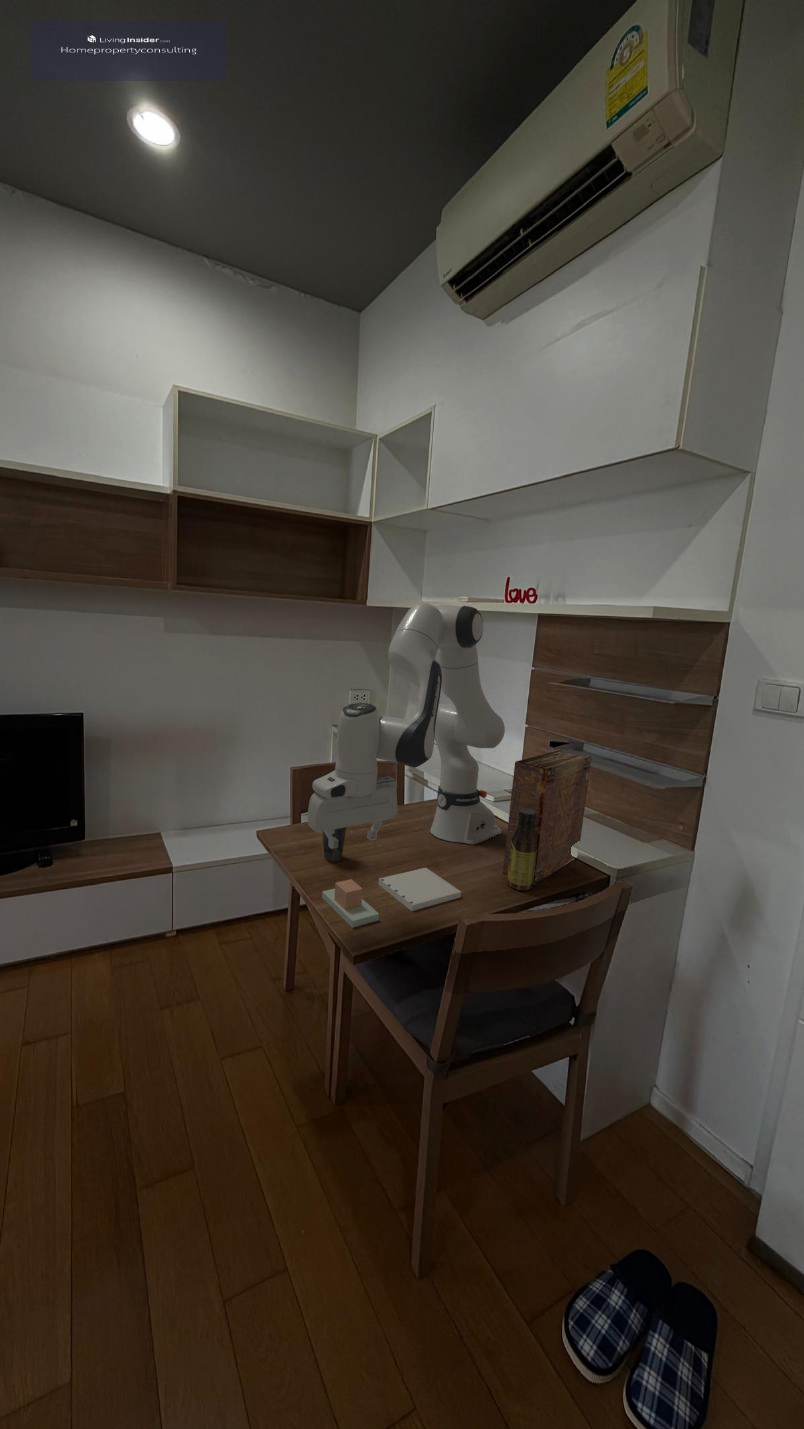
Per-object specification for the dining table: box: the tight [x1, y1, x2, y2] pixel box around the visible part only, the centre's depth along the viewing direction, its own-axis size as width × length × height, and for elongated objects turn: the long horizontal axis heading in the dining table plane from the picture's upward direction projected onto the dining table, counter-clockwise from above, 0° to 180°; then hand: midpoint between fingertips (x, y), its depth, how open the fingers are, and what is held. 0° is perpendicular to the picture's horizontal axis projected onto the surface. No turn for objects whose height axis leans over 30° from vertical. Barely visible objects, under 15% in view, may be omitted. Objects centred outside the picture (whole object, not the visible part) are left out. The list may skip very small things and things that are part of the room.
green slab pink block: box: [321, 878, 380, 929], centre depth 125 cm, size 6×14×6 cm, turn 34°
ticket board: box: [378, 867, 462, 912], centre depth 136 cm, size 14×14×2 cm
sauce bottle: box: [507, 808, 537, 892], centre depth 140 cm, size 7×6×20 cm
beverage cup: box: [322, 827, 347, 862], centre depth 149 cm, size 7×7×20 cm
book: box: [502, 748, 592, 886], centre depth 153 cm, size 25×9×30 cm, turn 138°
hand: (352, 843), depth 123 cm, fingers open, 8 cm apart
